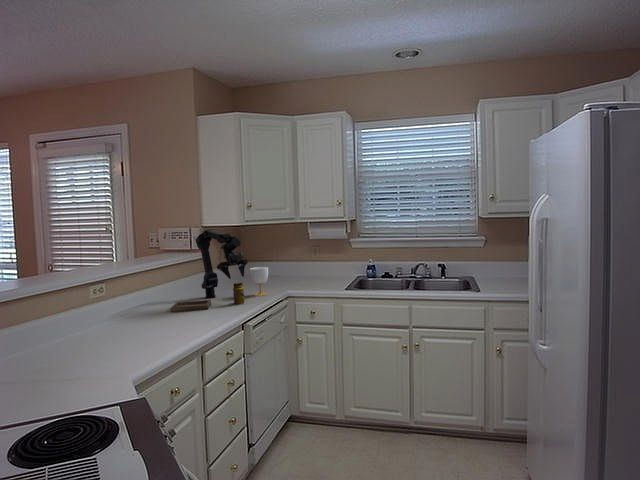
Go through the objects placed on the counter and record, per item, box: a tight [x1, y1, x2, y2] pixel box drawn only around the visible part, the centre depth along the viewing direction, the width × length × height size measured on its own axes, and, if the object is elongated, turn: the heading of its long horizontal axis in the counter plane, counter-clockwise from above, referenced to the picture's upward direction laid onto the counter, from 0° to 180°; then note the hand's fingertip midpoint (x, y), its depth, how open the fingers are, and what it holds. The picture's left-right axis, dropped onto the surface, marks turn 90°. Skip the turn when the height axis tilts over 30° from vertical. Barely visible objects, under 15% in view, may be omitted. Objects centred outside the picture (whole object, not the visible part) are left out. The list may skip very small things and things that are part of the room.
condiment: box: [228, 282, 247, 307], centre depth 272 cm, size 7×8×12 cm
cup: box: [249, 266, 269, 297], centre depth 297 cm, size 12×12×17 cm
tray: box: [170, 299, 212, 313], centre depth 267 cm, size 16×20×2 cm
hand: (236, 277), depth 276 cm, fingers open, 9 cm apart
